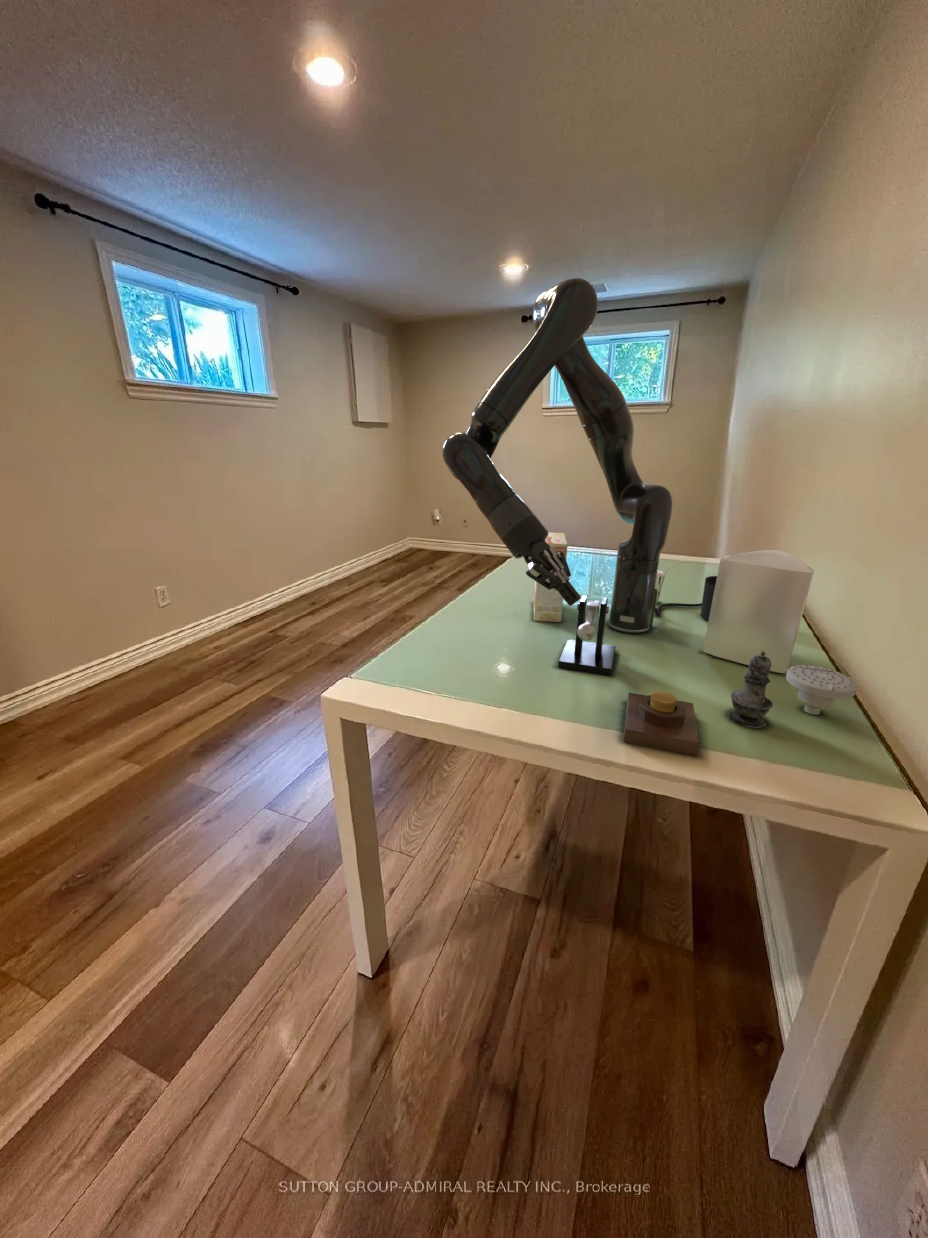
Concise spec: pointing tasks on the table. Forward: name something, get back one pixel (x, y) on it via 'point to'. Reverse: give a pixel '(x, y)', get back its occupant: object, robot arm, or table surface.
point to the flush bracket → (589, 646)
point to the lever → (589, 621)
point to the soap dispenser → (758, 607)
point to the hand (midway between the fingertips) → (575, 602)
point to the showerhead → (819, 686)
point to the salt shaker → (753, 695)
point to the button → (663, 702)
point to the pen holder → (708, 596)
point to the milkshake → (659, 583)
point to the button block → (661, 726)
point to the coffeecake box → (551, 600)
